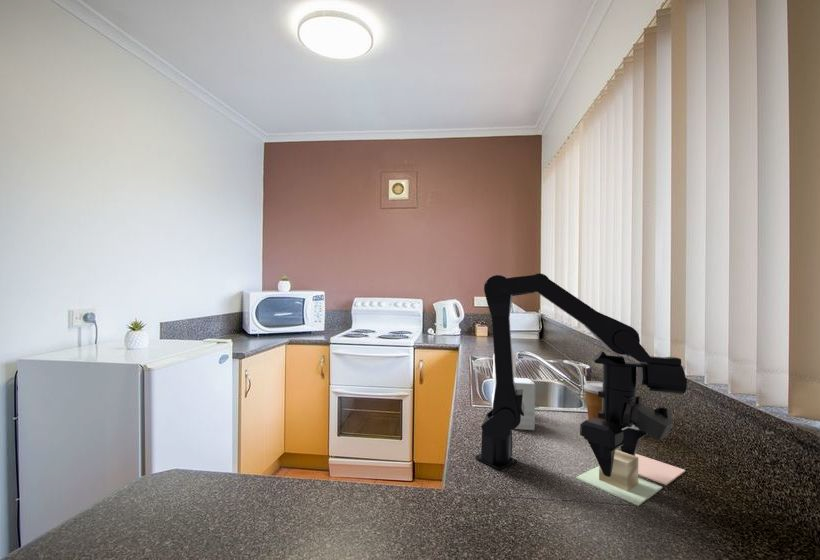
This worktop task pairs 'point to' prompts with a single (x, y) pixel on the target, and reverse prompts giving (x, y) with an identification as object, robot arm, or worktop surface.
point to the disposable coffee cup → (593, 398)
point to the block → (622, 471)
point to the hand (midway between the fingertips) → (618, 470)
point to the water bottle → (495, 373)
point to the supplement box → (527, 403)
